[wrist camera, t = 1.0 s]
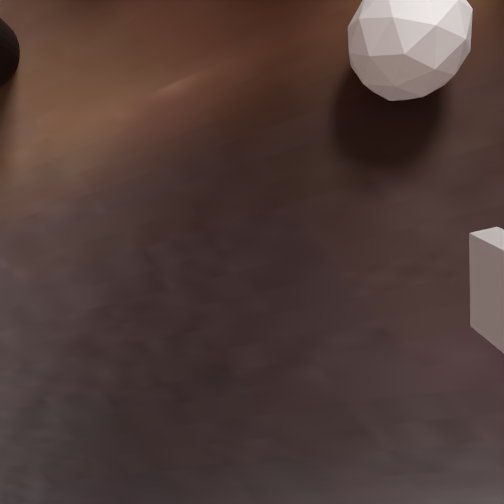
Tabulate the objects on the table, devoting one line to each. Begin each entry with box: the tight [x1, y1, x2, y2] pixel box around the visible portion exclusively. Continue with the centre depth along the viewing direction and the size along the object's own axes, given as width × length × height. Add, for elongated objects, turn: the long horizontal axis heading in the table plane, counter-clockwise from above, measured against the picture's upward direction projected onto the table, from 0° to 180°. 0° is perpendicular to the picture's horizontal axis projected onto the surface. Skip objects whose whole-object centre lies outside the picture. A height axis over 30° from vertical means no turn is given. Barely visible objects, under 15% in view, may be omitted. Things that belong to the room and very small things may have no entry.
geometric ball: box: [348, 0, 473, 101], centre depth 31 cm, size 8×8×8 cm
